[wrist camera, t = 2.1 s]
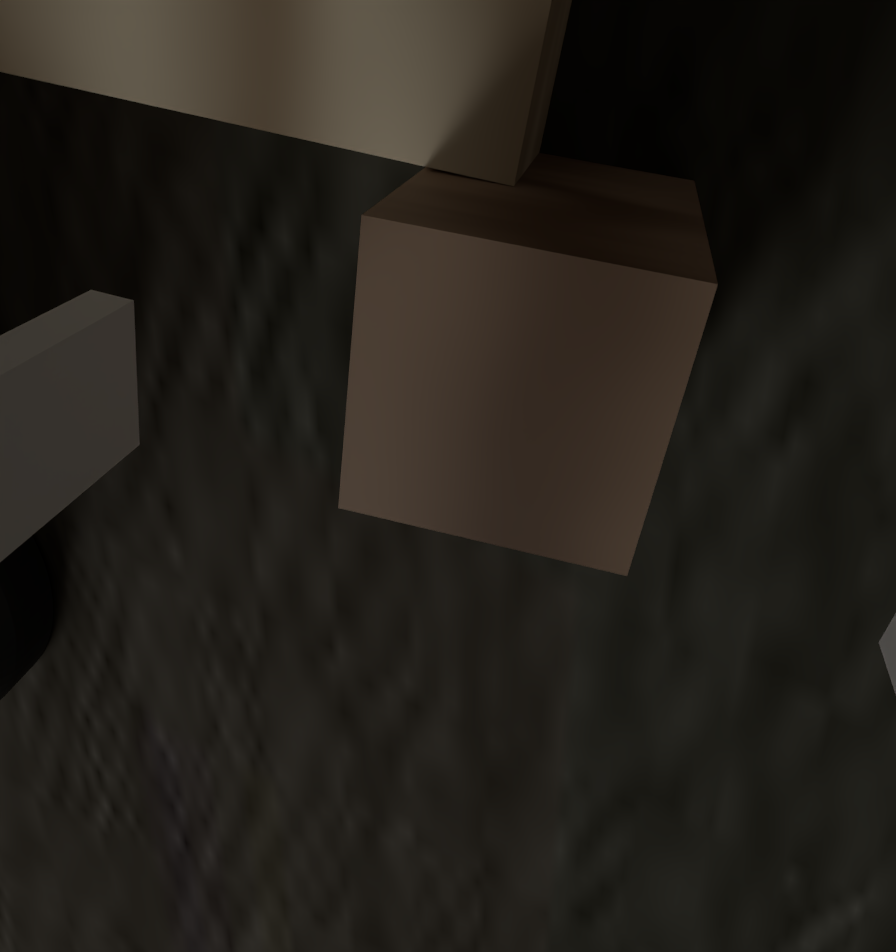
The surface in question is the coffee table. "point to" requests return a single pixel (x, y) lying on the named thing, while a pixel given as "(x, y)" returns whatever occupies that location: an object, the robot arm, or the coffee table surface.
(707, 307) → the walnut block
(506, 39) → the oak block
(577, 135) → the coffee table surface
